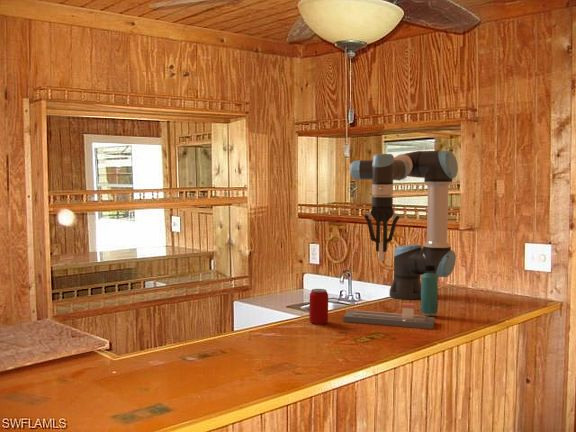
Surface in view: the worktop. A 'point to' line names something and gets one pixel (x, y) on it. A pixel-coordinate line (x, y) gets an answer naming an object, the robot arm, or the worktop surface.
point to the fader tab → (408, 310)
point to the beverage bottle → (429, 291)
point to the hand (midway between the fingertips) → (381, 260)
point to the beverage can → (318, 306)
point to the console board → (389, 319)
